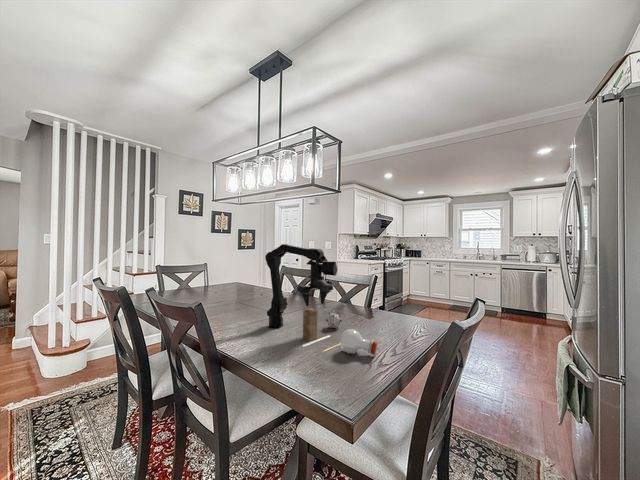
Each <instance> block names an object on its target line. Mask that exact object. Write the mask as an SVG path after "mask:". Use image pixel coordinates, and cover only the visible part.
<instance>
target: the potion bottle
mask: <svg viewBox="0 0 640 480" xmlns="http://www.w3.org/2000/svg"><path fill="white" fill-rule="evenodd" d="M378 341H379V340H374V338H373V337H371V338H370V339H365V338H363V337H362V335H361V333H360V332H359V331H358V330H355V328H350V329H346V330H344V331H343V332H342V333H341V335H340V338H339V343H340V345H339V346H340V347H341V349H342V351H343V352H345V353H346V354H349V355H350V354H356V353H357V352H359V351H363V352H366V353H367V355H368V356H371V355H373V357H375V356H376V353H377V349H378Z"/></svg>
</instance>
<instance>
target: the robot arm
mask: <svg viewBox="0 0 640 480" xmlns="http://www.w3.org/2000/svg"><path fill="white" fill-rule="evenodd" d="M287 253H288V254H293V255H298V256H303V257H304V258H306V259H309V260H308V261H307V263H306V265H310V270H309V271H310V275H308V278H309V283H308V285H298V286H297V288H296V292H298V293H299V294H301V296H302V298H303V301H304V303H305V307H307V308H308V307H310V306H309V305H310V295H311V294H312V293H311V291H317V290H319V294H320V295H319V297H320V304H321V305H324V302H325V299H327V298H326V297H327V295H328V294H329V293H331V292H332V291H333V290H334V286H333V281H332V280H330V279H329V280H325V279H324V276H323V275H325V276H332V277H333V276H337V274H338V265H337V262H336V261H328V259H327V257H326V256H325V253H324V251H323V249H321V248H306V247H302V246H301V247H300V246H294V245H290V244H286V243H283V244H281V245H279V246H278V247H276V248H274V249H272V251H268V252H266V255H265V256H264V257H265V258H264V259H265V262H266V265H267V267H268V268H269V272H270V280H271V281H270V282H271V290H272V299H271V301H270V308H269V309H267V311H266V315H267V317H268V325H267V328H271V329H280V328H281V327H283V326H284V318H283V314H284V312H285V310H286V309H287V308H288V307H287V306H288V298H287V297H284V295H283V291H282V281H281V274H280V273H281V272H280V267H281V263H282V257H284V256H285V255H286V254H287ZM322 274H323V275H322Z"/></svg>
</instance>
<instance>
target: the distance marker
mask: <svg viewBox="0 0 640 480" xmlns="http://www.w3.org/2000/svg"><path fill="white" fill-rule="evenodd" d="M338 346H340V342H339V343H337V344H335V345H333V346H330V347H329V348H326V349H323V350H322V352H325V353H326V351H329V350H331V349H334V348H337V347H338Z"/></svg>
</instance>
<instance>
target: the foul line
mask: <svg viewBox="0 0 640 480" xmlns="http://www.w3.org/2000/svg"><path fill="white" fill-rule="evenodd" d="M330 337H331V335H329V334H328V335H326V336H323V337H321V338H317V339H314V340H311V341H309V342H308V343H304V344H302V345H301V346H302V347H303V348H305V347H307V346H309V345H313V344H315V343H318V342H319V341H323V340H325V339H327V338H330Z"/></svg>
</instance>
